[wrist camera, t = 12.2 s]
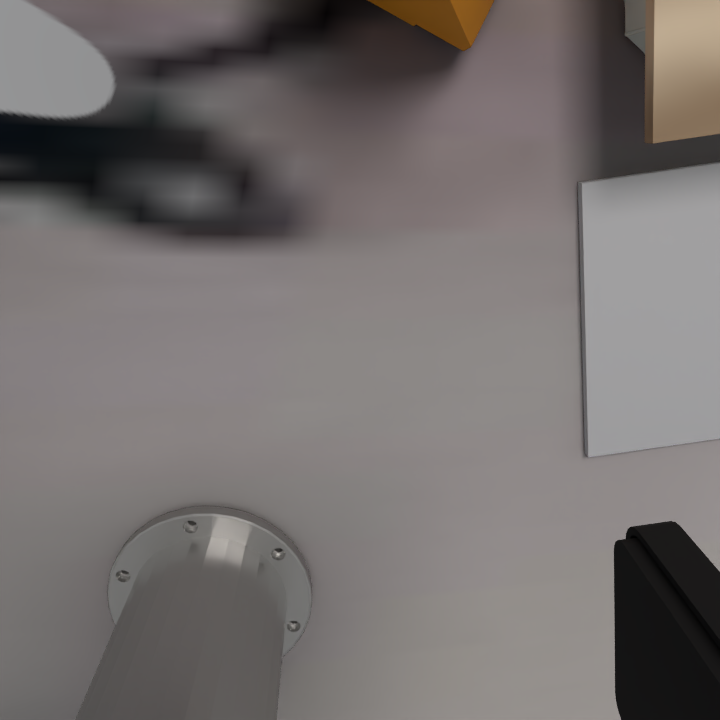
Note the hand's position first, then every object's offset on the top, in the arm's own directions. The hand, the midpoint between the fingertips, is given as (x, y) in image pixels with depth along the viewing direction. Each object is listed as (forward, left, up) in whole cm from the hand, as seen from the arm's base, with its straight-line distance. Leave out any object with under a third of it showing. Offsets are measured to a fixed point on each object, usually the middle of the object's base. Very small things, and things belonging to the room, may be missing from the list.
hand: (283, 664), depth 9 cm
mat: (-6, -22, -28) cm, 36 cm away
